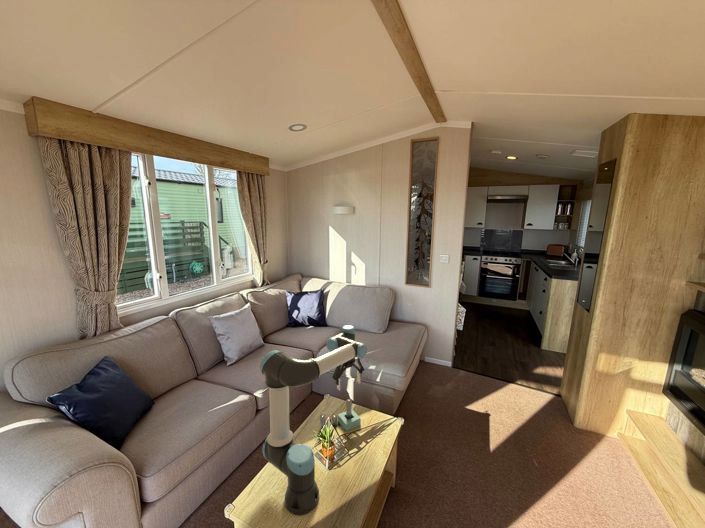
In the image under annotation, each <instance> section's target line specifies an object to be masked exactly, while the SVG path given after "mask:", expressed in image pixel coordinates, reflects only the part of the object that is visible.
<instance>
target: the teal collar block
mask: <svg viewBox="0 0 705 528" xmlns="http://www.w3.org/2000/svg"><path fill="white" fill-rule="evenodd" d="M361 422H362V421H361V417H360V416H359V415H358V413H356V412H355V411H354V409H353V408H352V418H351V419H349V420H347V419H346V411H342V412H340V413H338V414H337V423H338V424H340V426H341V427H342V429H344V431H345V432H348V431H350V430H352V429H354V428H356V427H359V426H361V424H362V423H361Z"/></svg>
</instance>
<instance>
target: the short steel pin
mask: <svg viewBox="0 0 705 528" xmlns="http://www.w3.org/2000/svg"><path fill="white" fill-rule="evenodd" d="M330 418H331V425H332V424H333V425H334V426H335V427H336V426H337V425H338V414H332V415H331V417H330ZM333 425H332V426H333Z"/></svg>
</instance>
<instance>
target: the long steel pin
mask: <svg viewBox="0 0 705 528" xmlns="http://www.w3.org/2000/svg"><path fill="white" fill-rule="evenodd" d="M352 403H353V401H352V399H351V398H347V399H346V400H345V406H346V407H345V410H346V419H347V420H349V419H351V418H352V409H353V407H352V406H353V405H352Z"/></svg>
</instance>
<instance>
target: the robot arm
mask: <svg viewBox="0 0 705 528" xmlns="http://www.w3.org/2000/svg"><path fill="white" fill-rule="evenodd" d="M326 349H328V351H329V352H327V353H324V354H322V355H319V356H317V357H315V358H312V357H309V358H306V359H299V358H296V357H294V356H292V355H289V354H288V353H287V354H286V353H285V352H283V351H280V350H278V349H277V350H276V349H274V350H271V351H269V352H267V353H266V354H265V355H264V357H262V359H261V360H260V364H259V371H260V373H261V374H262V375H263V376H264V379H265V380H264V383H265V386H266V387H267V388H268V393H269V395H268V397H269V427H270V428H269V429H270V430H269V431H270V433H268V435H267V437H266V438H265V440H264V442H263V444H262V450H261V451H262V455H263V457H264V459H265V460H266V461H267V463H269V464H271V465H272V466H273V467H275V469H277V470H279V471H280V472H281V473H282V474H283V475H285V476H286V477H287V487H286V491H285V494H284V506H285V508H286V510H287V511H288V512H289V513H290V514H293V515H295V516H304V515H306V514H309V513H311V512H312V511H313V510H314V509H315V508H316V506H317V505H318V503H319V500H320V490H319V486H318V485H317V484H318V483H317V482H316V479H315V477H316V476H315V473H316V472H315V463H316V462H315V461H316V460H315V455H314V450H313V449H312V448H311V447H310V446H309V445H308V444H305V443H294V435H293V434H294V433H293V431H291V430H290V388H297V387H301V386H305V385H308V384H312V383H313V382H316V381H317V380H318V379H319V378H320V376H321V375H323V374H325V373H328V372H329V371H331V370H333V369H335V370H334V372H333V375H332V376H331V378H332V379H333V380H334V381H335V385H336V389H337V390H338V391H341V376H343V374H344V372H345V371H346V370H347V369H349V368H353V367H354V368H355V370H357V371H356V382H357V383H358V384H361V378H362V374H363V372H364V371H365V368H364V365H363V364H362V361H361V359H364V358H366V356H367V353H368V345H366V344H365V343H363V342H361V341H358V340H356V328H355V326H353V325H350V324H347V325H343V326H342V327H341V331H340V332H339V333H337V334H335V335H333V336H331V337H329V338H327V340H326ZM355 362H356V363H357V365H358V366H357V365H356V364H355Z"/></svg>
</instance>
